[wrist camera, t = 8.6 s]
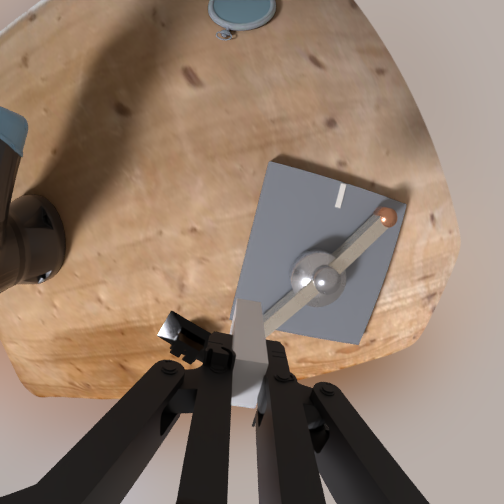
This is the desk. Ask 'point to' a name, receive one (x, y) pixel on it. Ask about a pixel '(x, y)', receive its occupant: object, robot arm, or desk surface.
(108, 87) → the desk surface
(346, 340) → the stand
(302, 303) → the rotary pointer lever
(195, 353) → the black stepped block
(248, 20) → the pocket watch
